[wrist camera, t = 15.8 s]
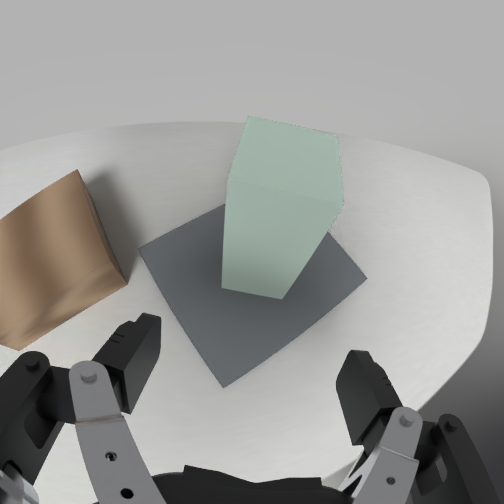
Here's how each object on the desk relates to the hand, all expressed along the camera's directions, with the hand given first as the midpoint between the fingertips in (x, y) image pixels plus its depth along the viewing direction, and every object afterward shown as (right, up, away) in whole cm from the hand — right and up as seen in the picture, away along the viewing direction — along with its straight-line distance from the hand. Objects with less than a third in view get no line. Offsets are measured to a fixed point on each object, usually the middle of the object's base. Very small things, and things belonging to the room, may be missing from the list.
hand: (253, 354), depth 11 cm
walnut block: (-17, +3, +8) cm, 19 cm away
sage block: (0, +3, +10) cm, 10 cm away
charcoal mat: (0, +3, +10) cm, 11 cm away
